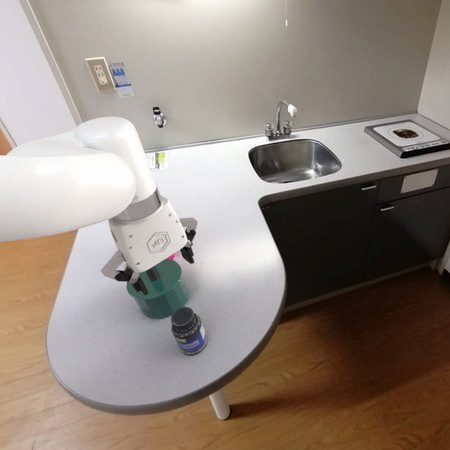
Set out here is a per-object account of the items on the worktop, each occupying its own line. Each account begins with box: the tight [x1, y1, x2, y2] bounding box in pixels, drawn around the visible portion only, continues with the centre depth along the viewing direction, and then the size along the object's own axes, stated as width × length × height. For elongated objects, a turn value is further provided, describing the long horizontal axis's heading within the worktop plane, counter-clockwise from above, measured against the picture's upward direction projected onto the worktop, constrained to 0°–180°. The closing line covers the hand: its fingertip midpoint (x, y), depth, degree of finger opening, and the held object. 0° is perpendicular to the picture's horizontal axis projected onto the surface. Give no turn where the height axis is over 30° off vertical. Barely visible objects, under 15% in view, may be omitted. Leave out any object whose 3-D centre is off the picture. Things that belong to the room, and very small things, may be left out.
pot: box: [133, 276, 189, 320], centre depth 77 cm, size 12×12×8 cm
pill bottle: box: [170, 306, 208, 356], centre depth 67 cm, size 6×6×11 cm
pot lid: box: [126, 259, 183, 300], centre depth 73 cm, size 13×13×6 cm
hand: (166, 274), depth 58 cm, fingers open, 9 cm apart
